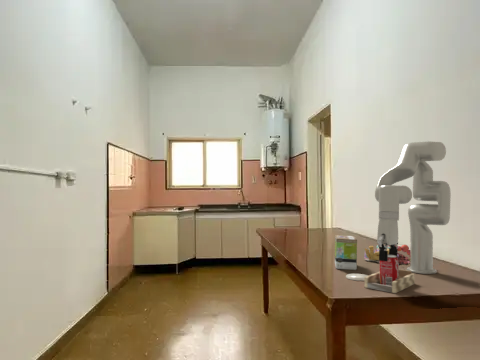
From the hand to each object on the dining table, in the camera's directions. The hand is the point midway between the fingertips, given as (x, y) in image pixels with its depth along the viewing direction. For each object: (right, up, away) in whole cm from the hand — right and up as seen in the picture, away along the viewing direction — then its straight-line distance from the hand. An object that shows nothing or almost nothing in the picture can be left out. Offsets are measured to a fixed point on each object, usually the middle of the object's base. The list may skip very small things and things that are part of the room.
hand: (388, 259), depth 152 cm
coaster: (-8, -11, +13) cm, 19 cm away
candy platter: (+21, -13, +56) cm, 61 cm away
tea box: (-7, -12, +38) cm, 40 cm away
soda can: (0, -11, 0) cm, 11 cm away
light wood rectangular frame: (+1, -11, +1) cm, 11 cm away
